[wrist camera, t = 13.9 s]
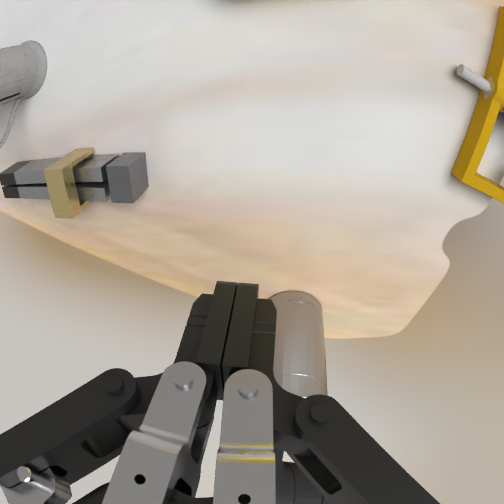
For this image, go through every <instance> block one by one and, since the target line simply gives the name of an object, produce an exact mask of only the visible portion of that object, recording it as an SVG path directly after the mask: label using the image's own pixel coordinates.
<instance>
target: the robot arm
mask: <svg viewBox="0 0 504 504" xmlns="http://www.w3.org/2000/svg"><path fill="white" fill-rule="evenodd" d="M258 289H259V284H249V283H236V282H224V281H217V283H216V287H215V290H214V294H213V295H211V294H201V295H200V296H199V298H198V299H197V300H196V301H195V302H194V303H193V306H192V309H191V312H190V316H189V318H188V321H187V326H186V327H185V330H184V333H183V337H182V340H181V343H180V346H179V349H178V352H177V356H176V359H175V361H174V363H173V364H172V365H170V366H169V367H168V368H166V369H165V371H164V372H163V373H161V374H158V375H154V376H147V377H137V378H134V377H133V376H132V375H131V373H130V372H128V371H126V370H124V369H119V368H114V369H110V370H107V371H105V372H104V373H102V374H100V375H99V376H97V377H96V378H94V379H92V380H91V381H89V382H88V383H86V384H84V385H83V386H81V387H79V388H78V389H76V390H74V391H73V392H71V393H69V394H68V395H66V396H65V397H63V398H61V399H60V400H58V401H56V402H55V403H53V404H51V405H50V406H48V407H46V408H45V409H43V410H41V411H40V412H38V413H36V414H35V415H33V416H31V417H30V418H28V419H26V420H25V421H23V422H21V423H19V424H18V425H16V426H14V427H13V428H11V429H9V430H8V431H6V432H4V433H2V434H1V435H0V486H1V487H2V489H3V492H4V494H5V496H6V498H7V501H8V503H9V504H65V503H67V501H68V500H69V499H70V498H71V496H72V493H71V489H70V485H71V484H72V483H74V482H76V481H78V480H79V479H81V478H83V477H84V476H86V475H88V474H89V473H91V472H93V471H94V470H96V469H98V468H99V467H101V466H102V465H104V464H106V463H107V462H109V461H111V460H112V459H114V458H115V457H117V456H118V455H120V454H121V455H120V457H119V460H118V462H117V465H116V467H115V470H114V473H113V475H112V478H111V481H110V482H109V483H106V484H104V485H102V486H100V487H98V488H96V489H95V490H93V491H92V492H90V493H89V494H87V495H85V496H84V497H82V498H81V499H79V500H77V501H76V502H74V503H72V504H440V503H439V502H438V501H437V500H435V499H434V498H433V497H432V496H431V495H430V494H429V493H428V492H427V491H426V490H425V489H424V488H423V487H422V486H421V485H420V484H419V483H418V482H417V481H415V480H414V479H413V478H412V477H411V476H410V475H409V474H408V473H407V472H406V471H405V470H404V469H403V468H402V467H401V466H400V465H399V464H398V463H397V462H396V461H395V460H394V459H393V458H392V457H391V456H390V455H389V454H388V453H387V452H386V451H385V450H384V449H383V448H382V447H381V446H380V445H379V444H378V443H377V442H376V441H375V440H374V439H373V438H372V437H371V436H370V435H369V434H368V433H367V432H366V431H365V430H364V429H363V428H362V427H361V426H360V425H359V424H358V423H357V422H356V420H355V419H354V418H353V417H352V416H351V415H349V413H348V412H347V411H346V410H345V409H344V408H343V407H342V406H341V405H340V404H339V403H338V402H337V401H336V400H335V399H333V398H332V397H329V396H327V376H326V358H325V342H324V327H323V315H322V307H321V304H320V303H319V301H318V300H317V299H316V298H314V297H313V296H311V295H309V294H307V293H304V292H298V291H288V292H282V293H279V294H276V295H275V296H273V297H271V298H270V299H258ZM217 400H223V411H222V423H221V435H220V446H219V449H218V452H217V459H216V470H215V483H214V484H215V485H214V496H213V497H209V498H195V495H196V491H197V488H198V483H199V480H200V473H201V462H202V459H203V455H204V452H205V448H206V445H207V441H208V437H209V434H210V430H211V427H212V423H213V419H214V412H215V406H216V401H217ZM284 451H286V452H287V454H288V455H289V456H290V457H291V459H292V460H293V461H294V462H295V463H292V462H284V461H282V458H283V452H284Z"/></svg>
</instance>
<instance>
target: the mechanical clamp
mask: <svg viewBox="0 0 504 504" xmlns="http://www.w3.org/2000/svg"><path fill="white" fill-rule="evenodd" d="M457 75H458V76H460V77H462V78H463V79H465V80H467V81H468V82H470V83H472V84H473V85H475V86H476V87H478V88H480V89H481V91H480V95H479V98H478V101H477V104H476V107H475V110H474V113H473V116H472V119H471V122H470V125H469V128H468V130H467V133H466V136H465V139H464V141H463V144H462V146H461V149H460V151H459V154H458V156H457V159H456V161H455V164H454V166H453V168H452V171H451V173H452V174H453V175H454V176H456V177H457V178H458V179H459V180H460V181H461V182H463V183H465V184H467V185H469V186H471V187H473V188H475V189H477V190H479V191H481V192H483V193H485V194H487V195H489V196H491V197H493V198H495V199H497V200H499V201H500V202H502V203H504V188H503V187H502V186H500V185H498V184H496V183H495V182H493V181H491V180H489V179H487V178H486V177H484V176H482V175H480V174H478V173H476V171H477V168H478V166H479V164H480V161H481V159H482V156H483V154H484V151H485V149H486V146H487V144H488V141H489V138H490V136H491V133H492V130H493V127H494V125H495V122H496V119H497V116H498V113H499V112H502V113H504V7H499V14H498V20H497V25H496V31H495V36H494V41H493V45H492V50H491V54H490V58H489V62H488V66H487V70H486V74H485V77H484V78H483V77H481V76H480V75H478V74H477V73H475V72H474V71H472V70H470V69H469V68H467V67H466V66H464V65H462V64H461V65H459V66H458V68H457Z"/></svg>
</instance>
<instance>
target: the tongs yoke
mask: <svg viewBox="0 0 504 504" xmlns="http://www.w3.org/2000/svg"><path fill="white" fill-rule="evenodd" d="M106 170H107V177H108V183H109V189H110V195H111V200H112V202H117V203H134V202H135V201H136V200H137V199H138V198H139V197H140V196H141V194H142V193H143V192H144V191H145V190H146V189H147V188H148V187H149V186H148V177H147V167H146V156H145V153H123V154H122V155H120V156H119V157H118V158H116V159H115V160H113V161H112V162H111V163H110V164H108V165H107V166H106Z"/></svg>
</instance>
